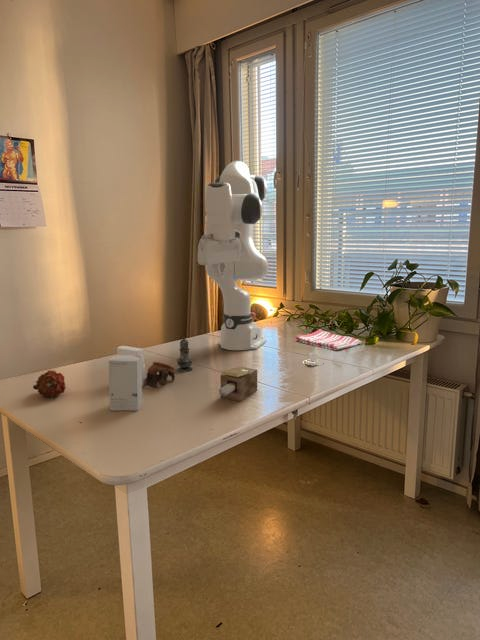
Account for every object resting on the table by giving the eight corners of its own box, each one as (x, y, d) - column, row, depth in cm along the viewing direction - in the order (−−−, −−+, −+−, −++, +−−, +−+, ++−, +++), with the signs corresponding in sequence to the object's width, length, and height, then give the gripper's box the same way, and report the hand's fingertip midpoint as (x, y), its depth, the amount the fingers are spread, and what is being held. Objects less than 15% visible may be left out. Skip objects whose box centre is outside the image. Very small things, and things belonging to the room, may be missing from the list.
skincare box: (109, 411, 132) (106, 360, 129) (115, 403, 138) (112, 354, 135) (139, 411, 132) (136, 360, 129) (143, 403, 138) (141, 354, 135)
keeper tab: (233, 370, 145) (233, 367, 145) (249, 373, 142) (249, 370, 142) (221, 374, 139) (221, 371, 139) (237, 377, 136) (237, 374, 136)
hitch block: (238, 387, 151) (237, 366, 149) (257, 391, 147) (257, 369, 146) (220, 397, 142) (220, 375, 141) (240, 401, 139) (240, 378, 137)
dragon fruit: (56, 407, 139) (45, 401, 149) (77, 385, 143) (65, 381, 153) (35, 388, 136) (25, 383, 145) (57, 366, 139) (46, 363, 149)
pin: (245, 381, 150) (245, 369, 149) (256, 383, 148) (256, 371, 147) (217, 397, 137) (216, 384, 136) (228, 399, 135) (228, 386, 134)
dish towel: (319, 335, 218) (319, 328, 218) (362, 345, 201) (362, 337, 201) (294, 342, 207) (294, 334, 207) (337, 352, 190) (338, 344, 190)
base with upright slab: (151, 381, 156) (150, 346, 154) (133, 390, 149) (131, 353, 146) (131, 377, 161) (129, 343, 158) (112, 385, 153) (109, 349, 151)
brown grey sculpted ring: (138, 384, 156) (146, 360, 158) (164, 392, 160) (171, 369, 162) (150, 385, 145) (159, 360, 147) (178, 394, 149) (185, 369, 151)
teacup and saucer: (312, 368, 170) (313, 358, 169) (296, 363, 176) (297, 353, 175) (328, 364, 175) (329, 353, 174) (312, 359, 181) (313, 349, 180)
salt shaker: (190, 372, 165) (189, 339, 163) (174, 371, 167) (173, 338, 164) (195, 367, 171) (194, 335, 169) (179, 366, 172) (178, 334, 170)
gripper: (208, 235, 142) (209, 280, 145) (243, 233, 159) (243, 274, 162) (191, 235, 145) (193, 279, 148) (227, 233, 162) (228, 273, 165)
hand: (219, 276), depth 155 cm, fingers closed
